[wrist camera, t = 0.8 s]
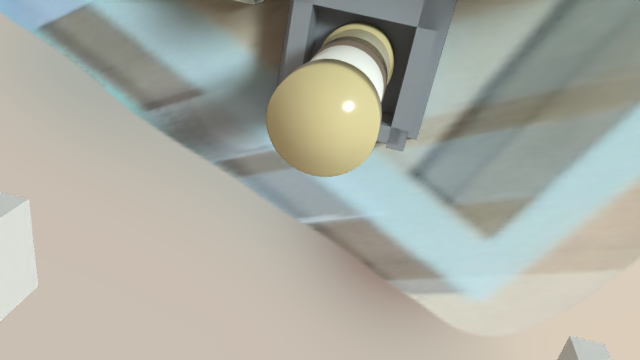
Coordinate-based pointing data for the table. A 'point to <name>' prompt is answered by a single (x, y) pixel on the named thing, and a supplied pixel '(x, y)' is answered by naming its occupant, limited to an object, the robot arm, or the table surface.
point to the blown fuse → (333, 102)
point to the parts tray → (250, 1)
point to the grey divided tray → (408, 41)
